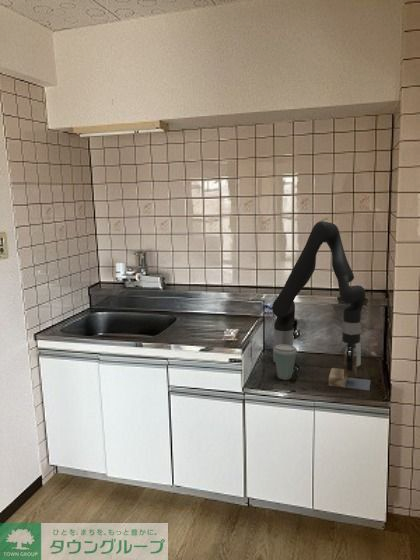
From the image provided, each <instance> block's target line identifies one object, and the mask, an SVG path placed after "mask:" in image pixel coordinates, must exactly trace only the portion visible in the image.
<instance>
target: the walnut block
mask: <svg viewBox="0 0 420 560" xmlns="http://www.w3.org/2000/svg"><path fill="white" fill-rule="evenodd" d="M343 354H344V357H343V369H344V375H346V376H347V377H357V367H358V366H357V352H355V354H354V358H353V367H352V371H348V370H347V362H346V360H347V357H346V350H345V351H344V353H343ZM348 360H351V359H348Z"/></svg>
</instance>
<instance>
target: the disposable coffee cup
mask: <svg viewBox="0 0 420 560" xmlns="http://www.w3.org/2000/svg"><path fill="white" fill-rule="evenodd" d="M274 353H275V361H276V363H275V369H276V376H277V378H278V379H279V380H282V381H283V380H285V381H287V380H291V378H292V376H293V372H294V368H295V362H296V357H297V353H298V350H297V347H296V346H294V345H293V346H292V345H283V344H282V345H277V346H275V348H274Z"/></svg>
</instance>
